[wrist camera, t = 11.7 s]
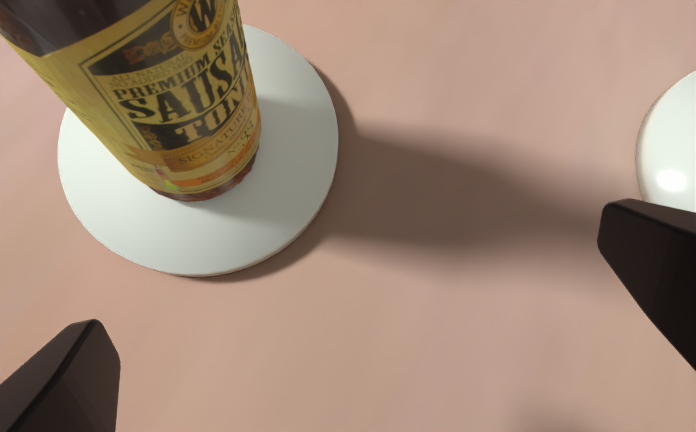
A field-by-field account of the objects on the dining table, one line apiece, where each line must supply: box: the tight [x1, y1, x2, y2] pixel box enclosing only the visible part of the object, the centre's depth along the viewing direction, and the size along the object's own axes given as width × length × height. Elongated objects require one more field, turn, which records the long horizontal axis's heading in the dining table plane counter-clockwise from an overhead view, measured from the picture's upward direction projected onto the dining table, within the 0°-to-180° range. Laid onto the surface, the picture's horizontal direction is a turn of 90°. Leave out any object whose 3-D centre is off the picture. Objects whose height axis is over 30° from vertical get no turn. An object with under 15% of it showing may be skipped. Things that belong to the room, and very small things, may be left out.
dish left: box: [58, 24, 338, 277], centre depth 23 cm, size 13×13×1 cm
